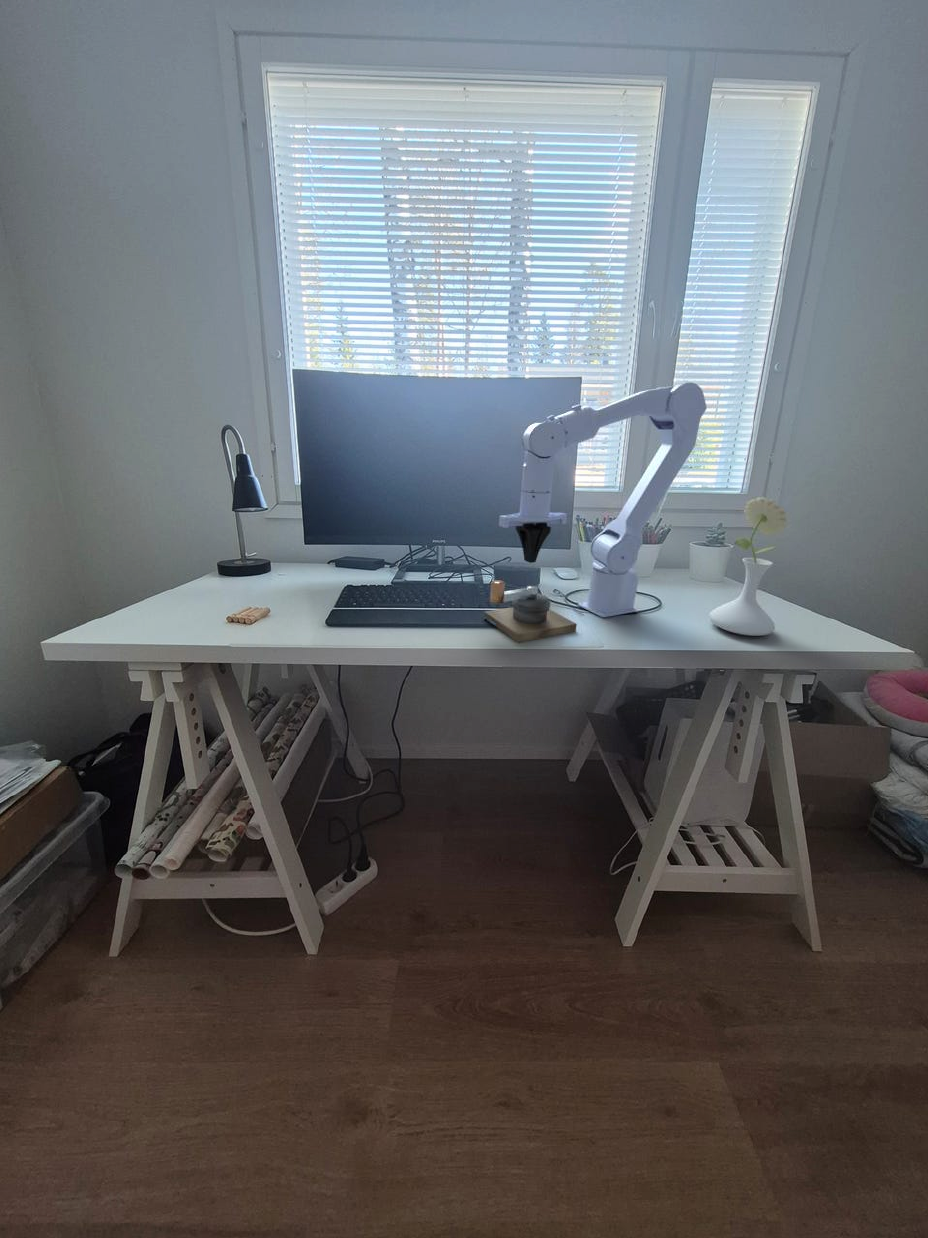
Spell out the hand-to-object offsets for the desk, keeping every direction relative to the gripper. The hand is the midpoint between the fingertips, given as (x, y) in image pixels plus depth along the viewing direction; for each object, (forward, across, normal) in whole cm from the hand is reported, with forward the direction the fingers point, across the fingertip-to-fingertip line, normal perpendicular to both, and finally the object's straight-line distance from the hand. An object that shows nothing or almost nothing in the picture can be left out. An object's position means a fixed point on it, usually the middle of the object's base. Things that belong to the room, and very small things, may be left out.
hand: (529, 561), depth 94 cm
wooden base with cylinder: (+10, +4, +7) cm, 13 cm away
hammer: (+5, +8, +7) cm, 12 cm away
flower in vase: (+11, -34, +24) cm, 43 cm away
